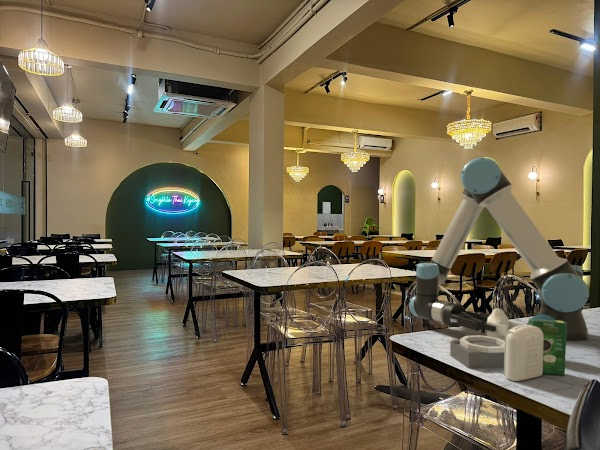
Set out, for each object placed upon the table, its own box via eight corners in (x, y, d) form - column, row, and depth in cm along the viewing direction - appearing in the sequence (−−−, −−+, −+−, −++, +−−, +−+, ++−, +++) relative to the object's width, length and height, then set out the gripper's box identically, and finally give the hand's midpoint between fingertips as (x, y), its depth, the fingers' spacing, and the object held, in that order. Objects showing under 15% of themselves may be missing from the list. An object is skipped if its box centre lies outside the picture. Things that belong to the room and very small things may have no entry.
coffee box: (561, 371, 105) (562, 319, 104) (566, 376, 102) (567, 322, 102) (526, 369, 106) (527, 317, 106) (530, 373, 103) (531, 320, 103)
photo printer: (529, 370, 105) (530, 321, 105) (545, 376, 102) (546, 325, 101) (500, 377, 101) (501, 325, 100) (517, 383, 97) (518, 330, 97)
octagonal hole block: (496, 353, 119) (496, 334, 119) (522, 367, 108) (522, 347, 108) (449, 354, 118) (449, 336, 118) (470, 369, 106) (470, 348, 106)
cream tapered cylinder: (505, 305, 126) (512, 310, 120) (504, 345, 126) (512, 351, 121) (484, 305, 127) (491, 309, 121) (483, 345, 127) (490, 351, 121)
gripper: (468, 321, 144) (534, 338, 124) (428, 328, 135) (493, 348, 115) (468, 299, 144) (534, 313, 124) (428, 305, 135) (493, 320, 114)
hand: (514, 329), depth 119 cm, fingers closed on cream tapered cylinder, 6 cm apart
